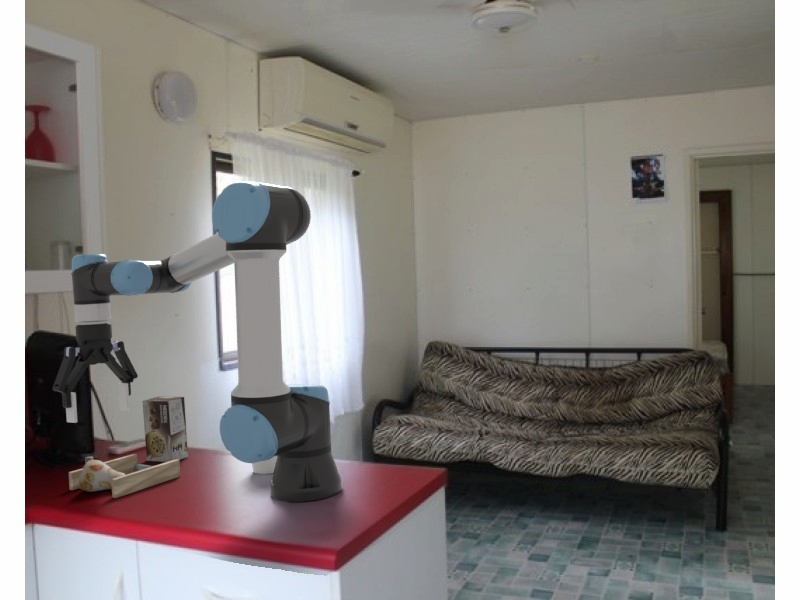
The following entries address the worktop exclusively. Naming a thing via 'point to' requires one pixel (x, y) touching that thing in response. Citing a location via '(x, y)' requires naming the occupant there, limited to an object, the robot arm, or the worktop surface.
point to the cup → (265, 466)
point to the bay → (133, 475)
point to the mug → (97, 476)
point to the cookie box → (165, 428)
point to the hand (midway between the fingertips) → (99, 416)
